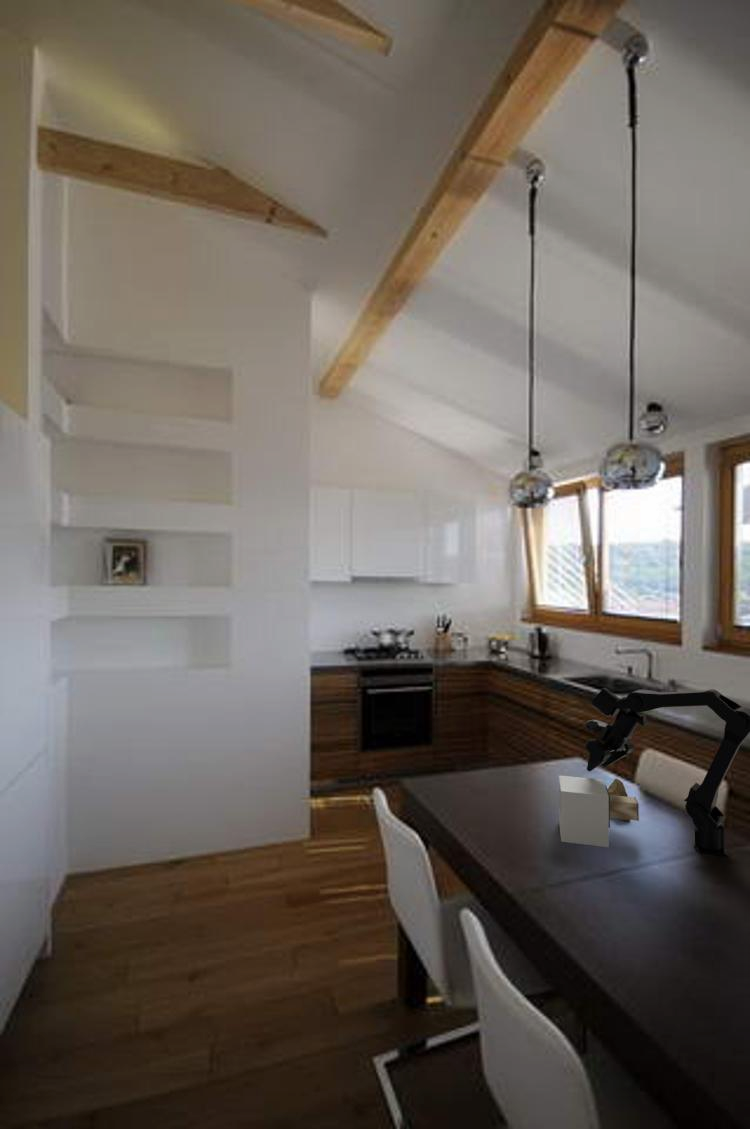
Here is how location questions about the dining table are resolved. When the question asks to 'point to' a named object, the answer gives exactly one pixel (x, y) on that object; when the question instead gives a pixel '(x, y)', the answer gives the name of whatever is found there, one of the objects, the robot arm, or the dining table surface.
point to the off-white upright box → (584, 811)
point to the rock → (617, 790)
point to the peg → (624, 807)
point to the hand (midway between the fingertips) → (596, 768)
